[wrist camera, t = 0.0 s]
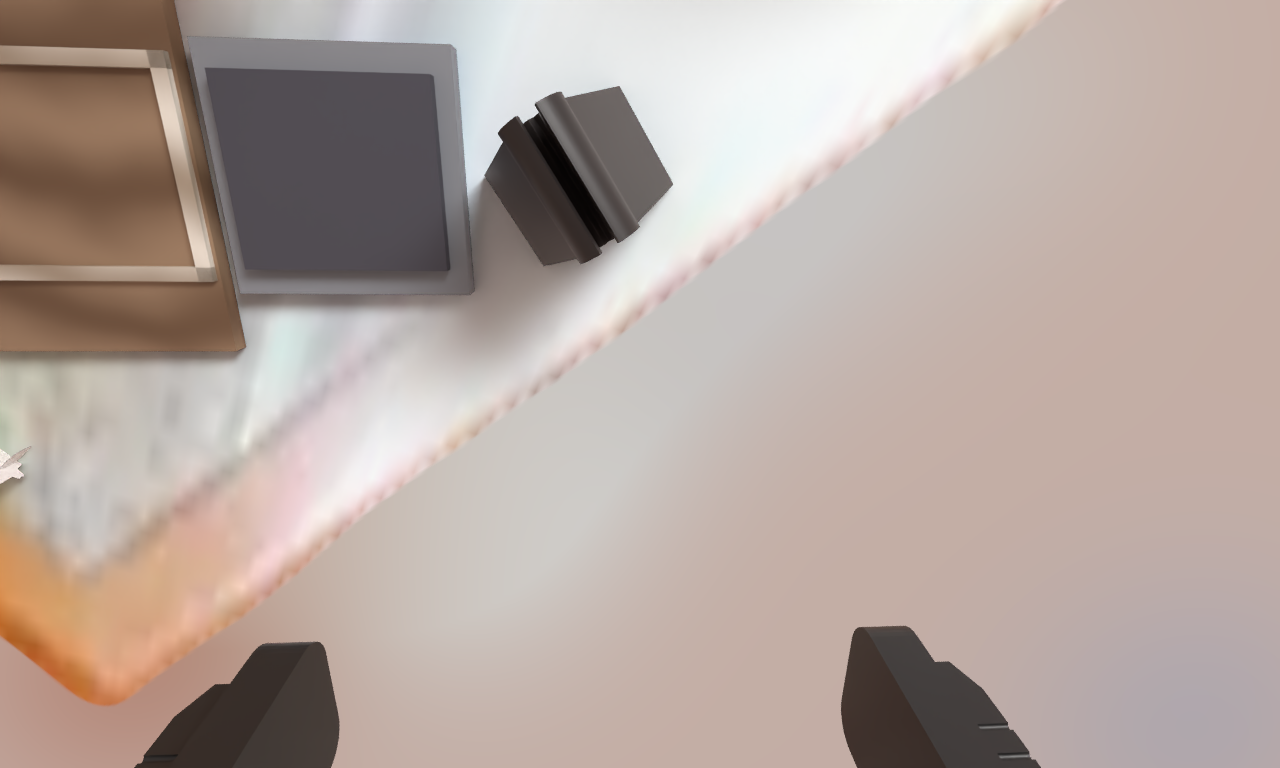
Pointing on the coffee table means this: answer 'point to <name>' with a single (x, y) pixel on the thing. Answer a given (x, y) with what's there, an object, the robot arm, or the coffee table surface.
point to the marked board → (106, 185)
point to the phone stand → (577, 174)
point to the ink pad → (338, 164)
